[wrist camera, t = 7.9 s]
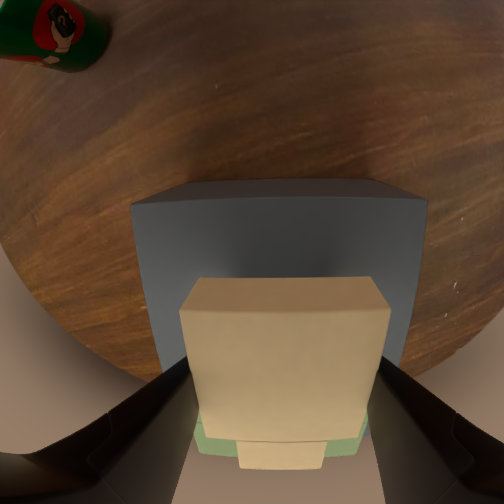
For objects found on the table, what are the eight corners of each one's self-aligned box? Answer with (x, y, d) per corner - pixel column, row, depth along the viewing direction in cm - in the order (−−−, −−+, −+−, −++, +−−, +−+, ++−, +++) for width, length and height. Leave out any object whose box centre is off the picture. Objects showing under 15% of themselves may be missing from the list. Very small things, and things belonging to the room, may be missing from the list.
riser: (372, 179, 18) (428, 199, 10) (354, 359, 22) (375, 434, 15) (186, 182, 19) (129, 204, 12) (207, 359, 23) (181, 433, 16)
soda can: (104, 6, 15) (3, -50, 4) (118, 50, 16) (-2, -1, 5) (57, 41, 16) (-51, 14, 4) (67, 86, 17) (-57, 72, 6)
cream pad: (370, 275, 8) (392, 308, 6) (341, 429, 10) (347, 466, 9) (198, 276, 9) (177, 310, 7) (221, 429, 11) (213, 466, 9)
